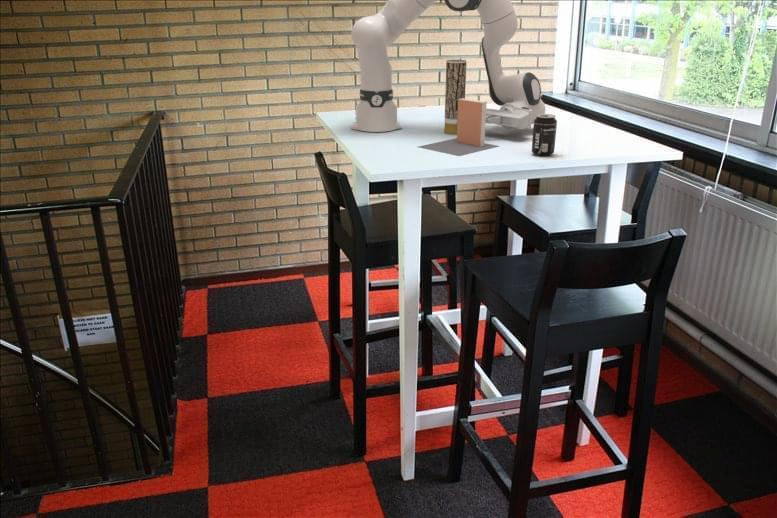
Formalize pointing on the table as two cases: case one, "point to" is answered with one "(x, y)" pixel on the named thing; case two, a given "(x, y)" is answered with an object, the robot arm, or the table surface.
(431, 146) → the mat
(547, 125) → the beverage can
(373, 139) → the table surface
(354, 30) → the robot arm
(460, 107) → the tile
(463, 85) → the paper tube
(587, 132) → the table surface
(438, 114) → the table surface
